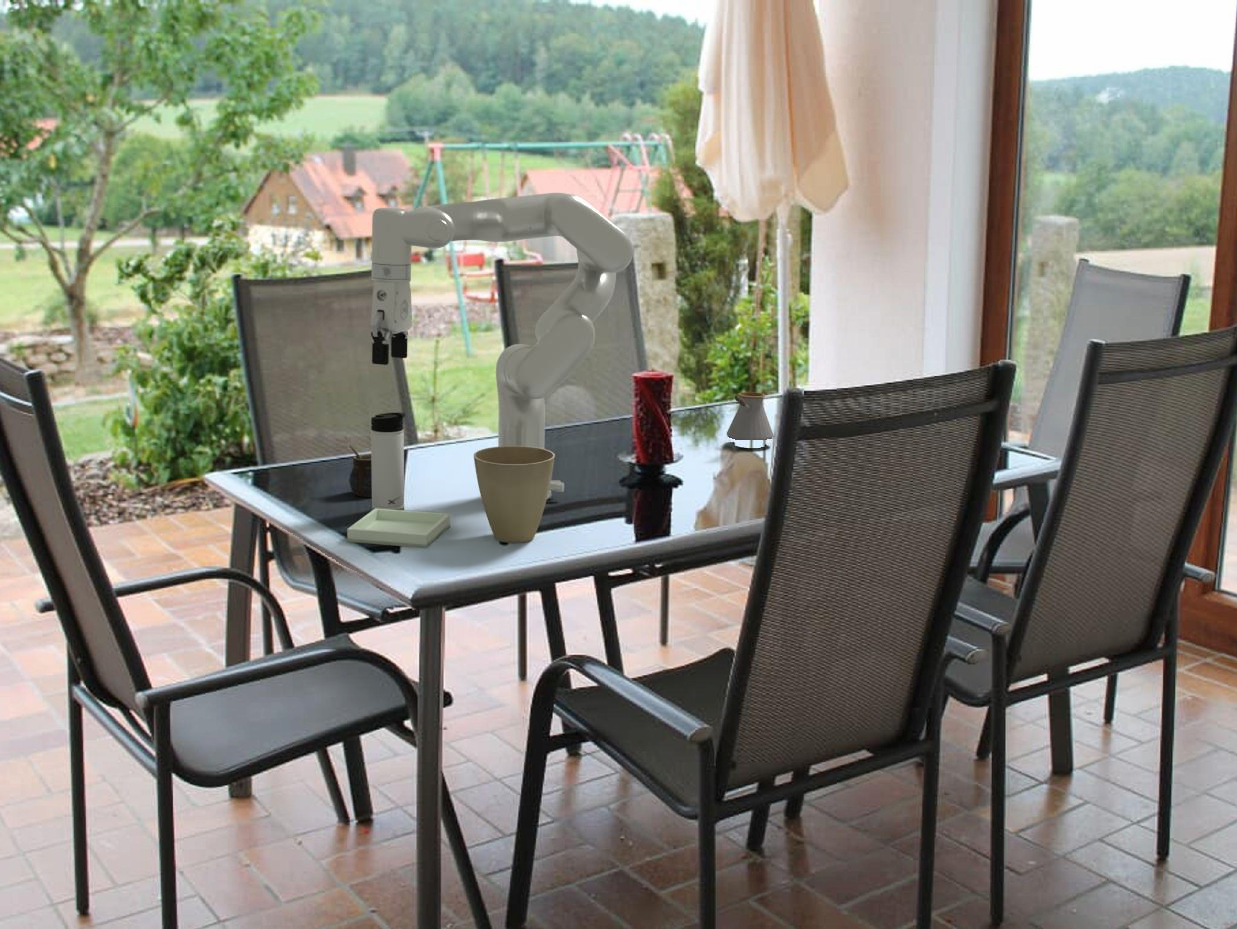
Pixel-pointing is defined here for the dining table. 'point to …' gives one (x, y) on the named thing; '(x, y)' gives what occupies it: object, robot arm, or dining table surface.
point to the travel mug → (387, 461)
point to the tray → (399, 528)
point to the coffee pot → (750, 418)
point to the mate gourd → (361, 475)
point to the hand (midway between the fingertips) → (389, 360)
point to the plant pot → (514, 489)
